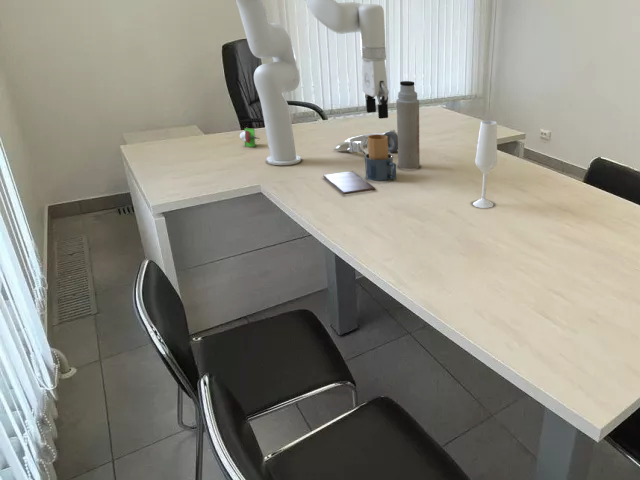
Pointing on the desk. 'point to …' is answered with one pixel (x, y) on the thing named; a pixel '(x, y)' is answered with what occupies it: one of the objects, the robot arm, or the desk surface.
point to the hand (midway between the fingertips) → (377, 115)
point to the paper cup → (378, 147)
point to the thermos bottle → (408, 126)
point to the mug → (380, 169)
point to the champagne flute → (486, 156)
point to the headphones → (359, 141)
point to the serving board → (348, 182)
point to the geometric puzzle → (248, 137)
